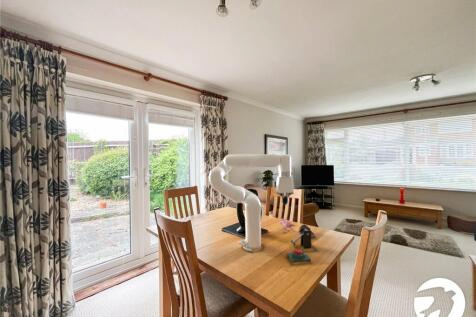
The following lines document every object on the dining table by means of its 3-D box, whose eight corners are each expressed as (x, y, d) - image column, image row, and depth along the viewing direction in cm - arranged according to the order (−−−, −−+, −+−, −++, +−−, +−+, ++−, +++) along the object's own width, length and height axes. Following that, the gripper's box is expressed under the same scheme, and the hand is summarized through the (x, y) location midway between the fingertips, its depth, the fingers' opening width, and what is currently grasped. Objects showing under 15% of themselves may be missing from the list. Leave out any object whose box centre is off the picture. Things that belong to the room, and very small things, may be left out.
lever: (295, 246, 119) (292, 243, 118) (291, 243, 124) (289, 240, 123) (310, 233, 120) (308, 230, 119) (306, 230, 125) (304, 227, 124)
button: (296, 255, 107) (296, 252, 107) (293, 252, 110) (293, 249, 110) (303, 254, 107) (302, 251, 107) (300, 251, 111) (300, 248, 111)
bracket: (300, 252, 117) (300, 232, 117) (295, 246, 125) (295, 227, 125) (317, 251, 119) (316, 231, 118) (310, 245, 127) (310, 226, 126)
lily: (297, 235, 145) (298, 221, 149) (284, 231, 141) (286, 217, 145) (286, 234, 155) (287, 222, 159) (274, 231, 151) (276, 218, 155)
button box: (292, 264, 104) (292, 257, 104) (286, 257, 112) (286, 250, 112) (310, 263, 106) (310, 255, 105) (304, 255, 113) (303, 248, 113)
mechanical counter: (311, 224, 147) (298, 222, 147) (319, 229, 134) (304, 226, 134) (309, 234, 146) (296, 232, 146) (317, 240, 134) (302, 237, 133)
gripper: (294, 173, 129) (294, 202, 129) (271, 174, 127) (271, 202, 128) (298, 174, 121) (299, 204, 122) (274, 175, 120) (274, 205, 120)
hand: (285, 203), depth 125 cm, fingers closed
